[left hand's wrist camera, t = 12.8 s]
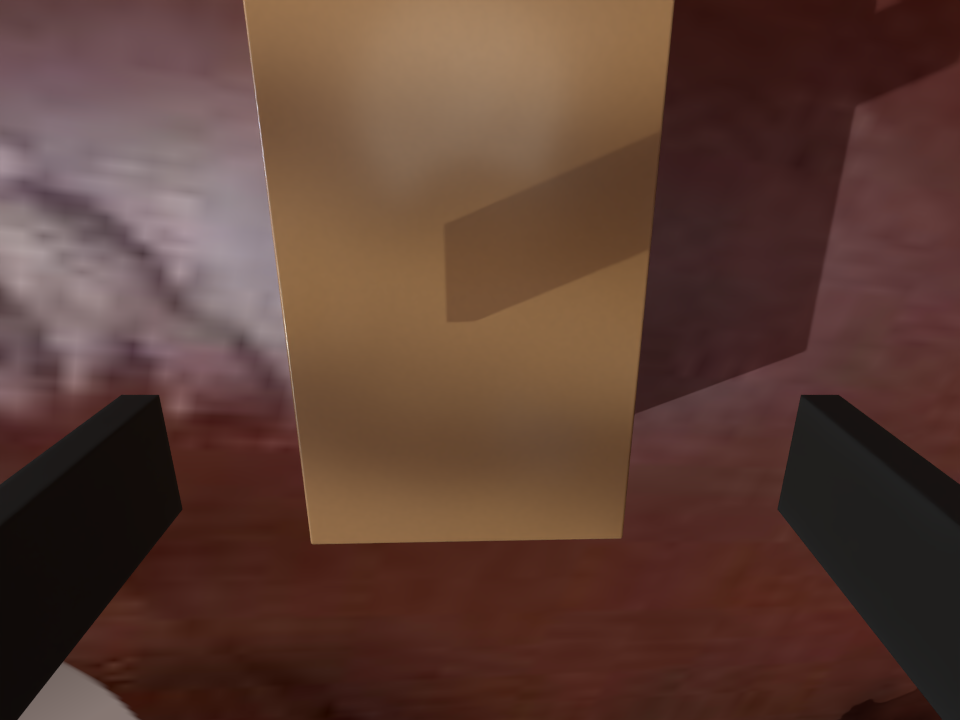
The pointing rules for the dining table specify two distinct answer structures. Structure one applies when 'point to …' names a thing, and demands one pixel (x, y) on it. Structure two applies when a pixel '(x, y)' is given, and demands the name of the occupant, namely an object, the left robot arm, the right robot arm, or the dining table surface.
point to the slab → (462, 255)
